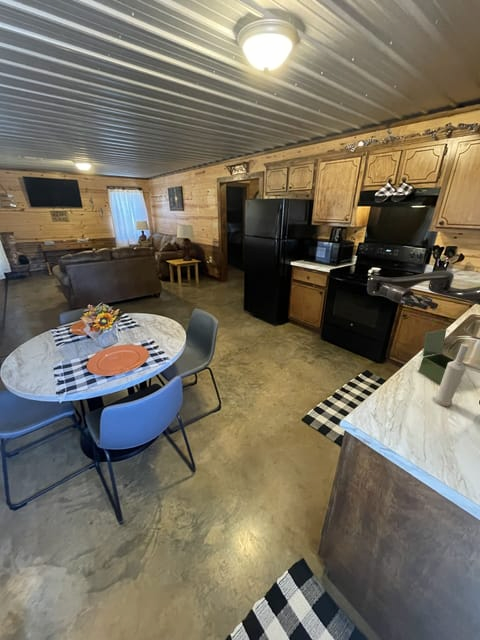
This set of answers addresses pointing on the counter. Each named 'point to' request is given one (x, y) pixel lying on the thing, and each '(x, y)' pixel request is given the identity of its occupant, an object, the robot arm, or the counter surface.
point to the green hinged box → (435, 366)
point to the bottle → (451, 378)
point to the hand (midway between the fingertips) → (431, 306)
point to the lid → (434, 342)
